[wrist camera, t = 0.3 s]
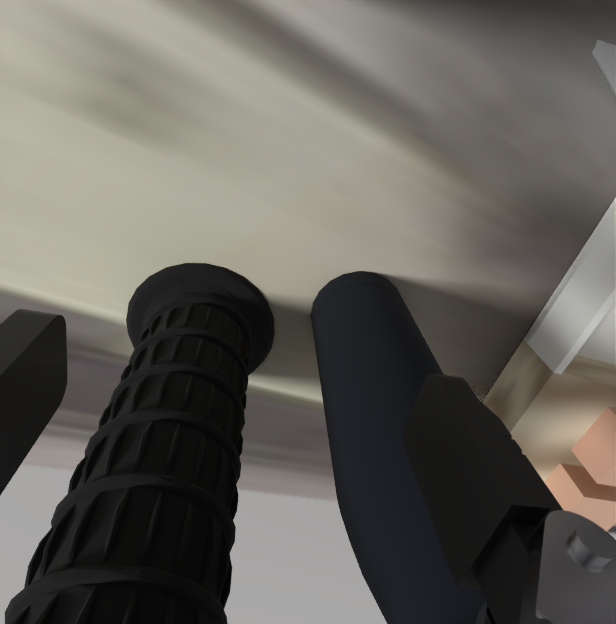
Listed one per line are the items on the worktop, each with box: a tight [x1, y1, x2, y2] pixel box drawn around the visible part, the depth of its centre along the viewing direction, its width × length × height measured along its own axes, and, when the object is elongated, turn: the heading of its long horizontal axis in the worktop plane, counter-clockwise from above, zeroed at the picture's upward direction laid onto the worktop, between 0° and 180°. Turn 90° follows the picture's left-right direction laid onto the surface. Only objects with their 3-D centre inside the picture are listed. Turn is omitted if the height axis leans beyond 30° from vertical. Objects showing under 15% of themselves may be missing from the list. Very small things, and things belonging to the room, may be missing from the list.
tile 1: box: [544, 463, 616, 532], centre depth 33 cm, size 4×4×3 cm
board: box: [482, 339, 616, 526], centre depth 35 cm, size 14×16×4 cm
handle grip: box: [5, 263, 275, 624], centre depth 18 cm, size 10×26×10 cm
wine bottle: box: [311, 272, 485, 624], centre depth 17 cm, size 6×6×30 cm
